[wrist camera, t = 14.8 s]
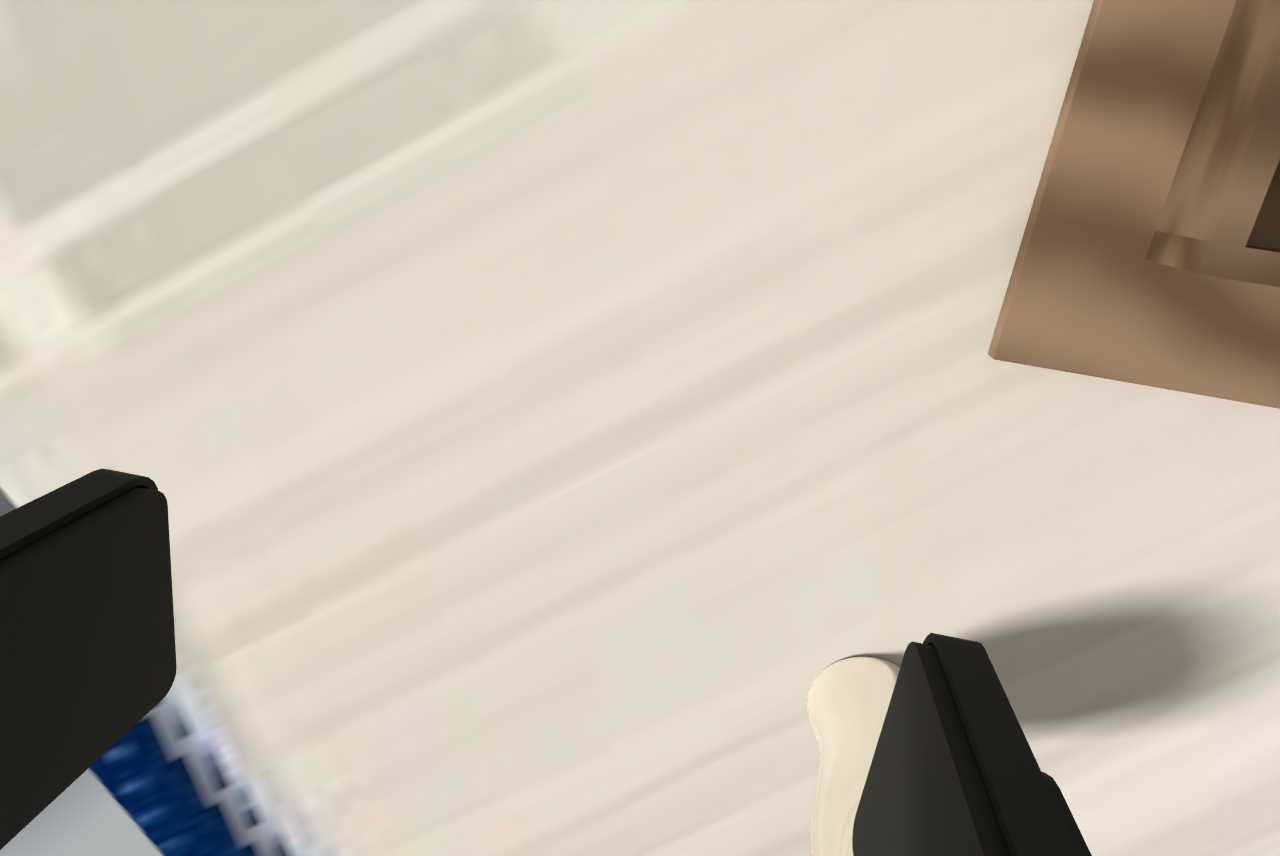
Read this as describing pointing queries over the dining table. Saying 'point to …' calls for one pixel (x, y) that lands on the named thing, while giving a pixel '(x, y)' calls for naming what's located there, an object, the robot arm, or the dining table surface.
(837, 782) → the beer glass
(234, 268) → the dining table surface
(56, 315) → the dining table surface
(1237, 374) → the holder
